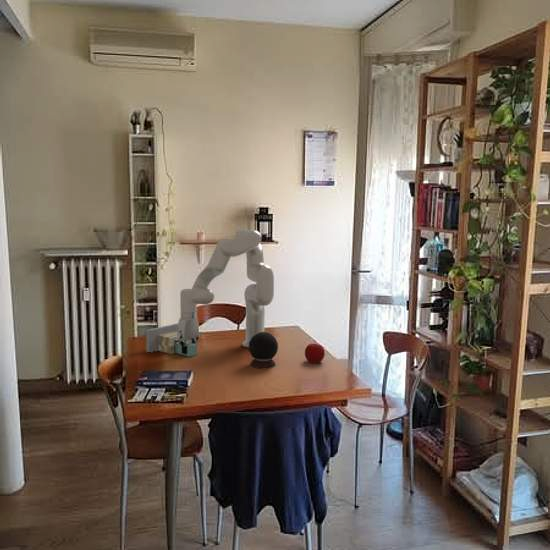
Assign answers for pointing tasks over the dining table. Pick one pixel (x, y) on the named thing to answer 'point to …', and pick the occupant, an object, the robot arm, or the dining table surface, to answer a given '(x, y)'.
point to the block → (167, 342)
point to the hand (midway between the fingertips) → (188, 352)
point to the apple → (314, 353)
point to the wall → (153, 336)
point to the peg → (190, 348)
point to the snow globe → (263, 349)
